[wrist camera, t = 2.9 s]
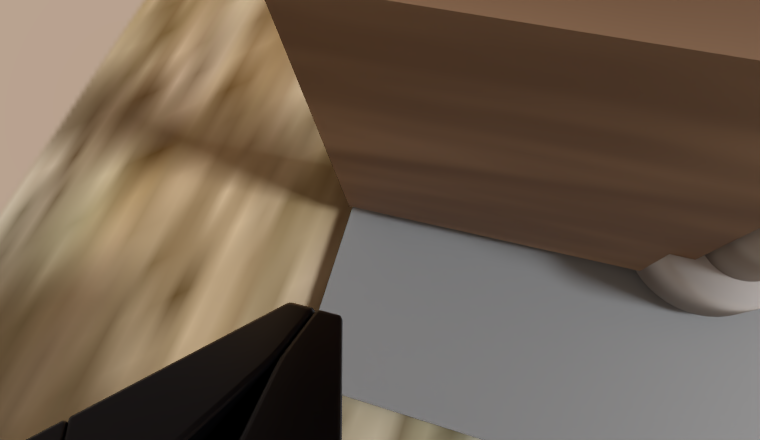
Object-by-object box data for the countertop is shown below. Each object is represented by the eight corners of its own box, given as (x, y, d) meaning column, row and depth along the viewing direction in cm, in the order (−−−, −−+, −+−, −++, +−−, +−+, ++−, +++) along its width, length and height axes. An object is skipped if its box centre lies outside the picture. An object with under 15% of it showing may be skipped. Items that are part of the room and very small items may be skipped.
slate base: (763, 528, 13) (779, 534, 12) (299, 380, 15) (294, 380, 14) (804, 44, 17) (818, 32, 16) (430, -24, 19) (430, -37, 18)
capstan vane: (780, 333, 13) (1398, 233, 5) (342, 232, 15) (237, 27, 7) (787, 188, 15) (1300, -100, 6) (378, 109, 16) (327, -202, 8)
